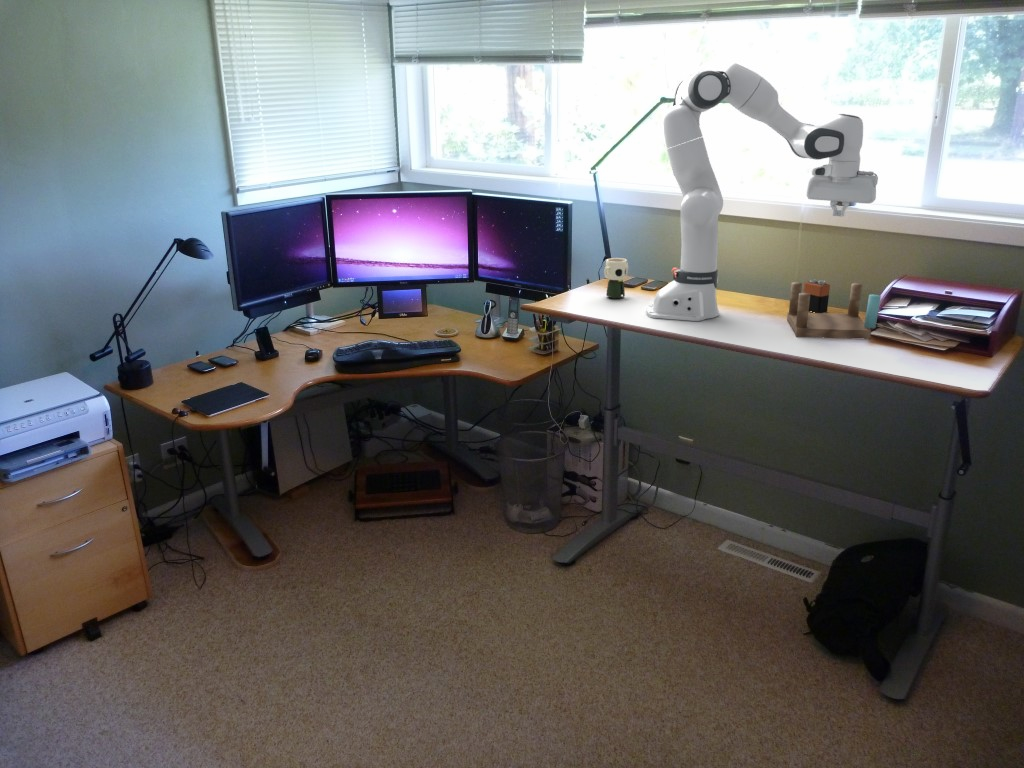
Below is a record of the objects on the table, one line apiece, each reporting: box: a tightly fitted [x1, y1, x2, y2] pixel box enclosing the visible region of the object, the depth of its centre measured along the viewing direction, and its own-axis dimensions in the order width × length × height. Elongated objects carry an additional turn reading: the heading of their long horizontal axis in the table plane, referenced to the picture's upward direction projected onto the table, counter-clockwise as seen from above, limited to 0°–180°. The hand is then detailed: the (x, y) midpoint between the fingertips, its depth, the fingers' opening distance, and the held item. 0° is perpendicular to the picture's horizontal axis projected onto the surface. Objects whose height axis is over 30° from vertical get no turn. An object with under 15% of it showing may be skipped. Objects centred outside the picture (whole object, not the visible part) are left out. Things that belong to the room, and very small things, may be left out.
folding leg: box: [864, 293, 881, 329], centre depth 235 cm, size 3×3×9 cm
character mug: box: [603, 257, 629, 299], centre depth 283 cm, size 11×7×13 cm, turn 128°
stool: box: [786, 281, 872, 340], centre depth 243 cm, size 20×18×12 cm
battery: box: [802, 278, 831, 313], centre depth 263 cm, size 4×7×10 cm, turn 32°
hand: (838, 216), depth 259 cm, fingers closed
